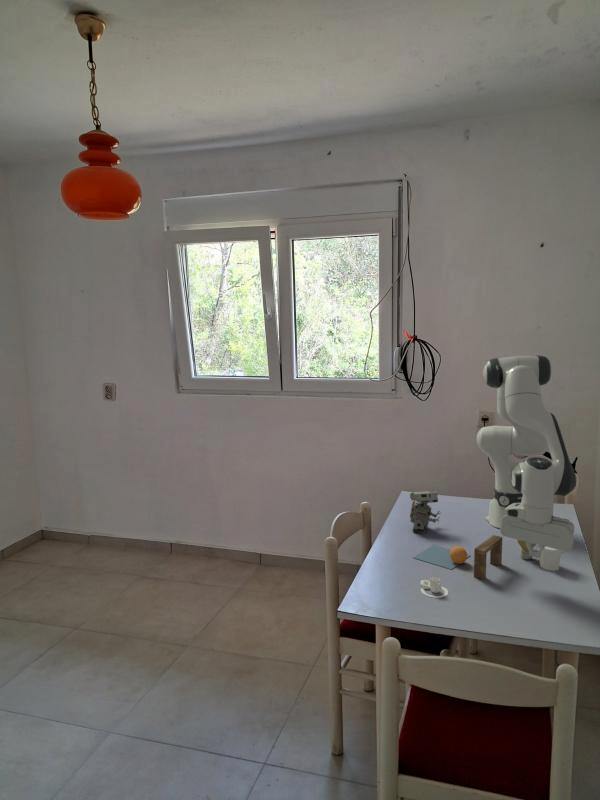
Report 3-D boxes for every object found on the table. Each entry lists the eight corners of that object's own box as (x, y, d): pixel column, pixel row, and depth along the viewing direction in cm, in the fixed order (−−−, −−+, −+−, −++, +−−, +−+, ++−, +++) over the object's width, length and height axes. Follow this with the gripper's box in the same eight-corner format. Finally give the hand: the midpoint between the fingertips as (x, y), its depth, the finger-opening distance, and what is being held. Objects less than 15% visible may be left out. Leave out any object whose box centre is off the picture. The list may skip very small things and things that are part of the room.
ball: (472, 550, 177) (465, 562, 179) (457, 540, 179) (450, 553, 182) (466, 556, 173) (459, 569, 175) (451, 547, 175) (444, 559, 177)
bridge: (473, 576, 167) (474, 548, 166) (492, 561, 178) (493, 534, 177) (483, 579, 165) (483, 551, 164) (501, 564, 176) (502, 537, 175)
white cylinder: (551, 573, 169) (552, 552, 168) (533, 565, 175) (533, 544, 174) (565, 568, 172) (566, 547, 171) (547, 560, 178) (548, 540, 177)
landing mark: (433, 545, 192) (433, 544, 192) (470, 555, 183) (470, 555, 183) (413, 558, 182) (413, 557, 182) (451, 569, 173) (451, 569, 173)
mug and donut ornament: (416, 585, 164) (417, 572, 163) (442, 584, 164) (442, 571, 163) (425, 599, 155) (425, 586, 154) (452, 598, 155) (452, 585, 155)
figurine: (439, 534, 202) (440, 496, 200) (408, 532, 205) (409, 494, 203) (440, 526, 210) (440, 489, 208) (410, 523, 214) (410, 487, 212)
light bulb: (518, 552, 185) (519, 524, 183) (538, 556, 181) (539, 528, 180) (513, 559, 180) (514, 530, 178) (534, 563, 176) (535, 534, 175)
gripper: (577, 517, 155) (575, 562, 157) (506, 502, 169) (505, 544, 171) (571, 524, 151) (569, 570, 153) (499, 508, 164) (497, 551, 166)
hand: (534, 556), depth 162 cm, fingers closed
